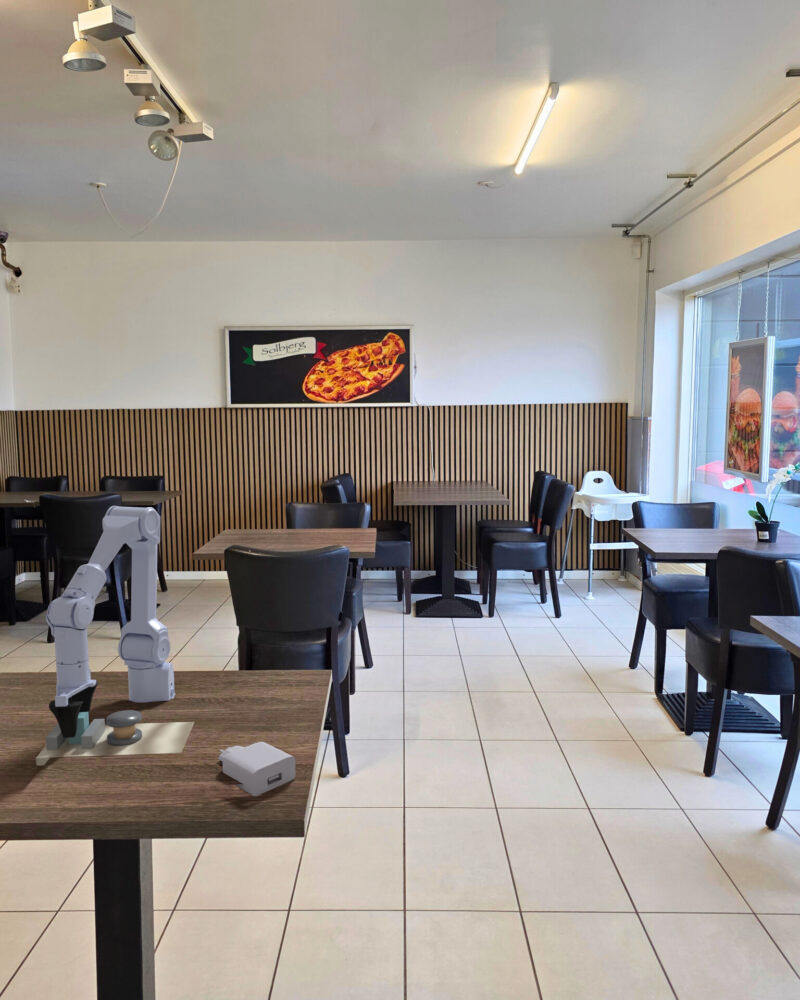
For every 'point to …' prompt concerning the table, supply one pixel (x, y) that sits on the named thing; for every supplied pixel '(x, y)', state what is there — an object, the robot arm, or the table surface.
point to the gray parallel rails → (87, 738)
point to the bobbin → (124, 728)
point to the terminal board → (152, 742)
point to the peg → (80, 727)
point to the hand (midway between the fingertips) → (76, 728)
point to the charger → (258, 767)
